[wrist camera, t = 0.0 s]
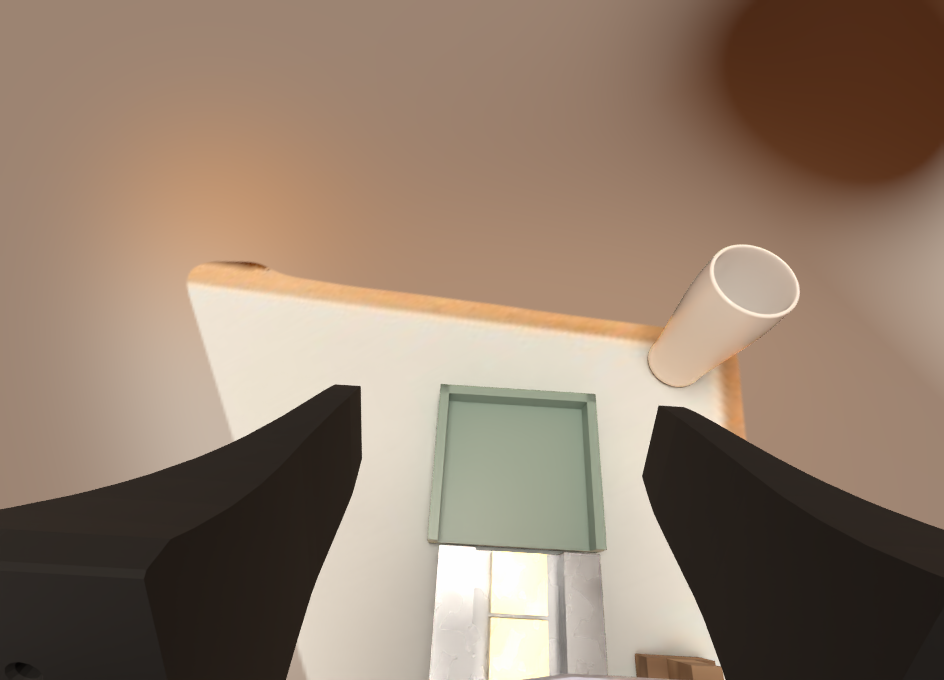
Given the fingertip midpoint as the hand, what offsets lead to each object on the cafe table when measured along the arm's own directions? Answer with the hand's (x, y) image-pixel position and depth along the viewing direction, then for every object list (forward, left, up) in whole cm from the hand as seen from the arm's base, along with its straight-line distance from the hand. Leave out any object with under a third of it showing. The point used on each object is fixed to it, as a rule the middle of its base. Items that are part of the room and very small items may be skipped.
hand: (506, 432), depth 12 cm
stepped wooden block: (-8, -16, -32) cm, 37 cm away
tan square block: (-7, -4, -30) cm, 31 cm away
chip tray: (+7, -4, -32) cm, 33 cm away
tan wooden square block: (-2, -4, -30) cm, 31 cm away
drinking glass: (+18, -20, -32) cm, 42 cm away
